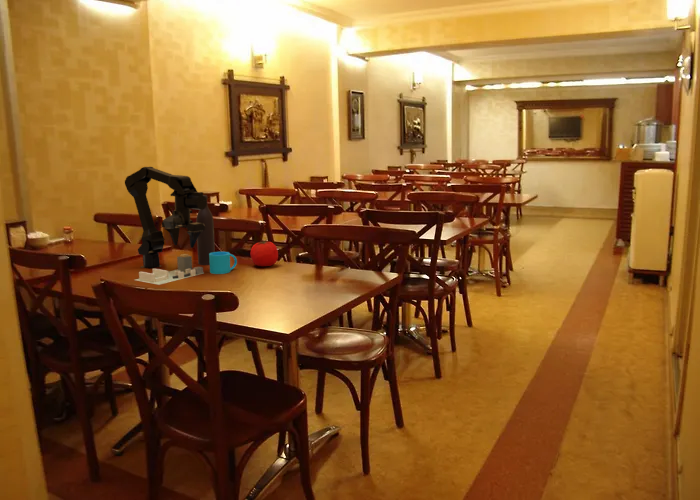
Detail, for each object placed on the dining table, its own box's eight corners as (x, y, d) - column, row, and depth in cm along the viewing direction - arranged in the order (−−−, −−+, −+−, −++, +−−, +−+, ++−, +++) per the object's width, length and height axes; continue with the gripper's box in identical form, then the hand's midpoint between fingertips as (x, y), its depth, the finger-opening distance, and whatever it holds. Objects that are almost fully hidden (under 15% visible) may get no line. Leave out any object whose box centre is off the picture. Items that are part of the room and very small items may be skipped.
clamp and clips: (173, 277, 230) (172, 271, 229) (196, 272, 240) (196, 266, 239) (181, 279, 228) (180, 273, 227) (204, 273, 238) (203, 267, 237)
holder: (138, 279, 227) (138, 271, 226) (154, 275, 233) (153, 268, 232) (154, 282, 222) (153, 274, 222) (169, 278, 228) (168, 271, 228)
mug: (216, 276, 235) (215, 256, 234) (206, 273, 241) (205, 253, 239) (242, 272, 243) (241, 252, 242) (231, 268, 249) (231, 249, 247)
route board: (133, 281, 226) (133, 279, 226) (180, 270, 245) (180, 268, 245) (158, 286, 219) (158, 284, 219) (204, 274, 238) (204, 273, 238)
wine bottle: (217, 265, 256) (214, 195, 250) (201, 267, 252) (198, 196, 246) (211, 262, 261) (208, 194, 256) (195, 264, 258) (192, 195, 252)
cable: (172, 278, 228) (171, 276, 228) (192, 273, 237) (192, 271, 237) (176, 279, 227) (176, 277, 227) (196, 274, 236) (196, 272, 236)
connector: (177, 271, 241) (177, 254, 240) (185, 269, 244) (184, 253, 243) (184, 272, 239) (184, 255, 238) (192, 270, 242) (191, 254, 241)
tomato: (275, 262, 261) (275, 237, 259) (281, 268, 250) (280, 242, 248) (248, 264, 257) (247, 239, 255) (252, 270, 247) (251, 243, 245)
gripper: (150, 207, 235) (152, 246, 238) (183, 211, 225) (185, 252, 228) (172, 205, 244) (173, 242, 247) (205, 209, 235) (206, 247, 238)
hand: (183, 246), depth 240 cm, fingers open, 9 cm apart
